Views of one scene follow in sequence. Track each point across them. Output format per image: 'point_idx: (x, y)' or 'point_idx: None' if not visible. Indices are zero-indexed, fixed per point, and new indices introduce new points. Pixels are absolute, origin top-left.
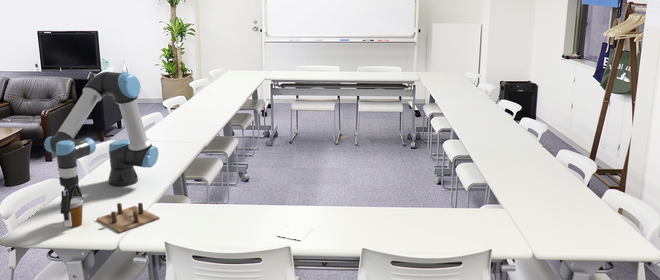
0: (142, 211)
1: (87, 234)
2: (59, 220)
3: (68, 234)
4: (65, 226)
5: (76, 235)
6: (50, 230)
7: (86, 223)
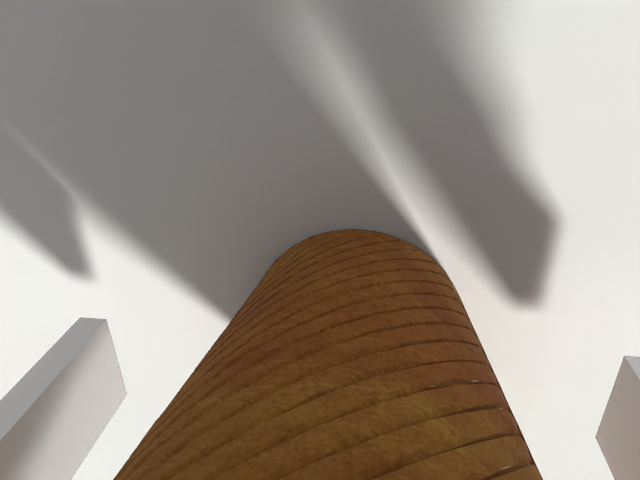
0: None
1: (112, 473)
2: (595, 23)
3: (71, 318)
4: (80, 328)
5: None
6: (140, 24)
7: None
